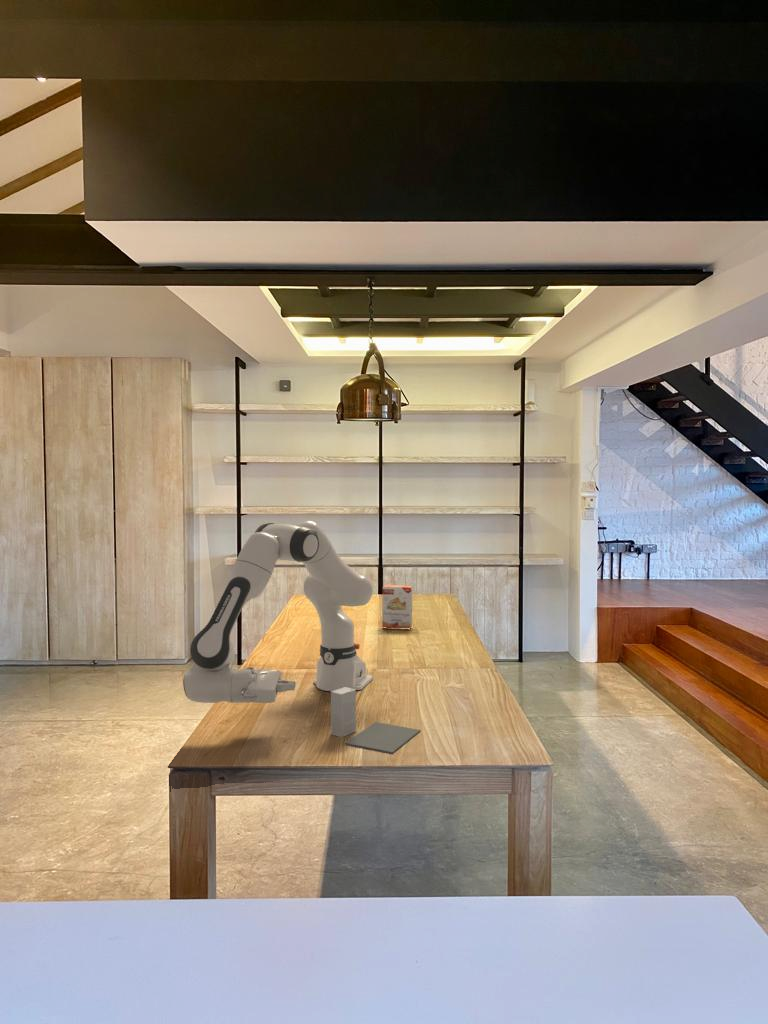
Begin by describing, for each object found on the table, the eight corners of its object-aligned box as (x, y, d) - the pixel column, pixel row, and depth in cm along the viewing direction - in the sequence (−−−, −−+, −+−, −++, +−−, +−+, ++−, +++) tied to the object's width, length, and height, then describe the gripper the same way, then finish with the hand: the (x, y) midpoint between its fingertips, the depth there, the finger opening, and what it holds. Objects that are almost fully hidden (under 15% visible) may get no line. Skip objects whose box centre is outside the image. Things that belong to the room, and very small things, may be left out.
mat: (375, 723, 195) (375, 722, 195) (420, 731, 189) (420, 729, 189) (344, 744, 179) (344, 742, 179) (392, 753, 173) (392, 752, 173)
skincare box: (345, 728, 191) (345, 686, 191) (356, 731, 188) (356, 689, 188) (330, 734, 186) (330, 691, 186) (341, 738, 184) (341, 694, 183)
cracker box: (381, 629, 327) (382, 586, 327) (384, 626, 333) (384, 584, 332) (410, 630, 325) (411, 587, 324) (412, 628, 331) (412, 585, 330)
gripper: (238, 685, 175) (292, 684, 175) (249, 665, 195) (297, 665, 196) (238, 709, 175) (292, 708, 176) (249, 687, 195) (297, 686, 196)
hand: (295, 685), depth 186 cm, fingers closed
